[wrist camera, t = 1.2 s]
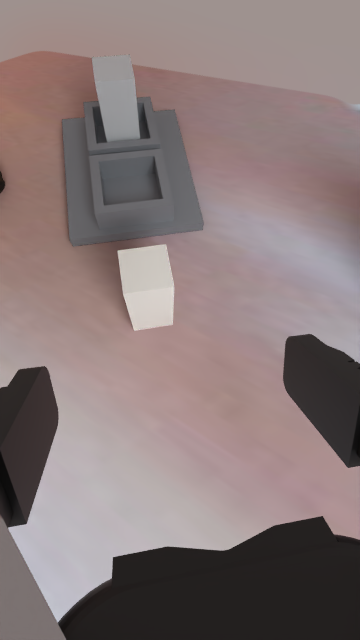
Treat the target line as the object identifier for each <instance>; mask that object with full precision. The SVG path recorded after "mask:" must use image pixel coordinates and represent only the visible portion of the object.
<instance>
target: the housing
mask: <svg viewBox="0 0 360 640" xmlns="http://www.w3.org/2000/svg"><path fill="white" fill-rule="evenodd" d="M92 64H93V71H94V79H95V85H96V90H97V95H98V100H99V101H91V102H83V104H84V113H85V118H74V119H62V128H63V144H64V159H65V175H66V191H67V206H68V222H69V238H70V242H71V244H72V246H80V245H88V244H96V243H104V242H111V241H119V240H127V239H135V238H143V237H151V236H158V235H166V234H174V233H182V232H190V231H197V230H203V224H204V222H203V218H202V214H201V210H200V207H199V203H198V199H197V195H196V191H195V187H194V183H193V179H192V176H191V172H190V168H189V164H188V160H187V156H186V152H185V148H184V145H183V141H182V137H181V133H180V129H179V125H178V121H177V117H176V114H175V110H165V111H153V108H152V103H151V98H150V97H140V98H136V88H135V78H134V73H133V68H132V63H131V58H130V55H119V56H105V57H92Z"/></svg>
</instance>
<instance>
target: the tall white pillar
mask: <svg viewBox="0 0 360 640" xmlns="http://www.w3.org/2000/svg"><path fill="white" fill-rule="evenodd" d="M118 258H119V266H120V274H121V282H122V289H123V295H124V299H125V302H126V305H127V309H128V312H129V315H130V319H131V322H132V325H133V329H134V331H135V330H142V329H148V328H154V327H161V326H167V325H173V306H174V283H173V278H172V273H171V268H170V262H169V257H168V252H167V247H166V244H164V245H157V246H149V247H141V248H134V249H126V250H118Z"/></svg>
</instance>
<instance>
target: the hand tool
mask: <svg viewBox="0 0 360 640" xmlns="http://www.w3.org/2000/svg"><path fill="white" fill-rule="evenodd" d="M4 186H5V182H4V180H3V178H2V174H1V172H0V193H1V192H2V190H3V189H4Z"/></svg>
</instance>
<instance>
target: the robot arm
mask: <svg viewBox="0 0 360 640" xmlns="http://www.w3.org/2000/svg"><path fill="white" fill-rule="evenodd" d="M283 381H284V386H285V389H286V391H287V393H288V394H289V396H290V397H291V398H292V399H293V401H294V402H295V403H296V404H297V406H298V407H299V408H300V409H301V410H302V412H303V413H304V414H305V415H306V417H307V418H308V419H309V420H310V422H311V423H312V424H313V425H314V426H315V428H316V429H317V430H318V431H319V433H320V434H321V435H322V436H323V438H324V439H325V440H326V441H327V443H328V444H329V445H330V446H331V447H332V449H333V450H334V451H335V452H336V454H337V455H338V456H339V457H340V459H341V460H342V461H343V462H344V463H345V465H346V466H347V467H348V468H350V467H355V466H360V364H359V363H358V362H355V361H354V359H352V358H351V357H349V356H348V355H347V354H345V353H344V352H342V351H340V350H337V349H335V348H332V347H330V346H327V345H326V344H324V343H323V342H322V341H320V340H319V339H318V338H316V337H315V336H313V335H312V334H306V335H298V336H290V337H288V338H287V340H286V344H285V358H284V372H283ZM57 426H58V408H57V403H56V399H55V395H54V391H53V387H52V383H51V379H50V375H49V372H48V370H47V368H46V367H45V366H43V367H35V368H27V369H20V370H18V371H17V373H16V374H15V376H14V377H13V379H12V381H11V382H10V384H9V385H8V387H2V388H0V640H360V540H358V539H355V538H351V537H346V536H341V535H334V534H333V533H332V531H331V529H330V528H329V526H328V524H327V523H326V521H325V519H324V518H323V516H321V517H316V518H311V519H306V520H300V521H295V522H290V523H285V524H280V525H275V526H273V527H271V528H269V529H267V530H265V531H263V532H261V533H259V534H258V535H256V536H254V537H252V538H250V539H248V540H246V541H244V542H243V543H241V544H239V545H237V546H235V547H233V548H231V549H229V550H225V551H217V550H204V549H192V548H179V547H163V548H158V549H153V550H148V551H143V552H138V553H133V554H127V555H122V556H117V557H113V570H112V579H110V580H108V581H106V582H104V583H102V584H101V585H99V586H98V587H96V588H95V589H93V590H92V591H90V592H89V593H88V594H87V595H85V596H84V597H83V598H82V599H81V600H79V601H78V602H77V603H76V604H75V605H74V606H73V607H72V608H71V609H70V610H69V611H68V612H67V613H66V614H65V615H64V616H63V617H62V618H61V620H60V621H59V622H58V623H57V621H56V619H55V617H54V615H53V613H52V612H51V610H50V608H49V606H48V604H47V602H46V600H45V598H44V596H43V594H42V593H41V591H40V589H39V587H38V585H37V583H36V581H35V579H34V577H33V575H32V573H31V572H30V570H29V568H28V566H27V564H26V562H25V560H24V558H23V556H22V554H21V553H20V551H19V549H18V547H17V545H16V543H15V541H14V539H13V537H12V535H11V534H10V532H9V530H8V527H12V526H18V525H24V524H27V521H28V517H29V514H30V511H31V508H32V505H33V502H34V499H35V495H36V492H37V489H38V486H39V483H40V480H41V477H42V474H43V470H44V467H45V464H46V461H47V458H48V455H49V452H50V448H51V445H52V442H53V439H54V436H55V433H56V430H57Z"/></svg>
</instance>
